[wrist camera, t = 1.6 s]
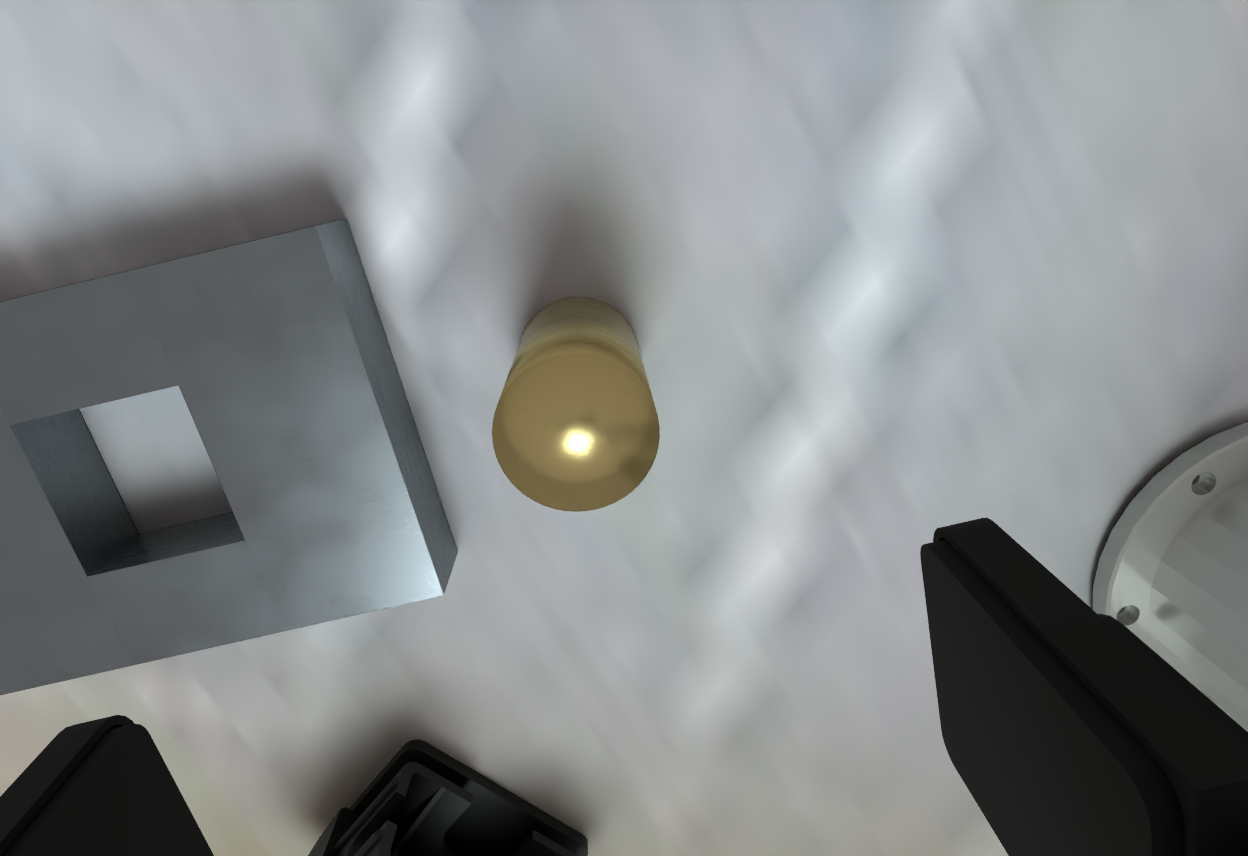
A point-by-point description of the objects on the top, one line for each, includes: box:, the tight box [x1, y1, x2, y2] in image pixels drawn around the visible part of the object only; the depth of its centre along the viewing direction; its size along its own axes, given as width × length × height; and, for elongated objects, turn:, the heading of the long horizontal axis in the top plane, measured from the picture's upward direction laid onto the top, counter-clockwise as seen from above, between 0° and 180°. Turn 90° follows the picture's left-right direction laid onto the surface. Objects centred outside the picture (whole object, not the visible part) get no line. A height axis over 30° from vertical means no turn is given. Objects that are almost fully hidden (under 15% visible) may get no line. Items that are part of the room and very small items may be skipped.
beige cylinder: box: [492, 297, 659, 511], centre depth 23 cm, size 4×4×8 cm
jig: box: [0, 218, 458, 695], centre depth 25 cm, size 16×12×3 cm
